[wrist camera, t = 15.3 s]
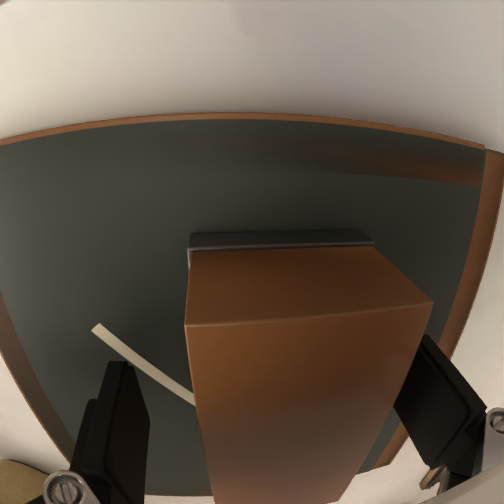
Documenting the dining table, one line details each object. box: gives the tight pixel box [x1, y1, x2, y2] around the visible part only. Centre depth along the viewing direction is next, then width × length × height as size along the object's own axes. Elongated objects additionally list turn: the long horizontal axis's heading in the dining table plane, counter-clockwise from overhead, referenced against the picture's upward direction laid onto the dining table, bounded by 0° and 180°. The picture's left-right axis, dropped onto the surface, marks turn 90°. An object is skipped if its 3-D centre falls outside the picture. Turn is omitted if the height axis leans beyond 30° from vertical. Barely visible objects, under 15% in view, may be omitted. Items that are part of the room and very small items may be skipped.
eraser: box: [184, 230, 433, 504], centre depth 9 cm, size 5×10×4 cm, turn 179°
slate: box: [0, 112, 504, 496], centre depth 12 cm, size 20×20×1 cm
